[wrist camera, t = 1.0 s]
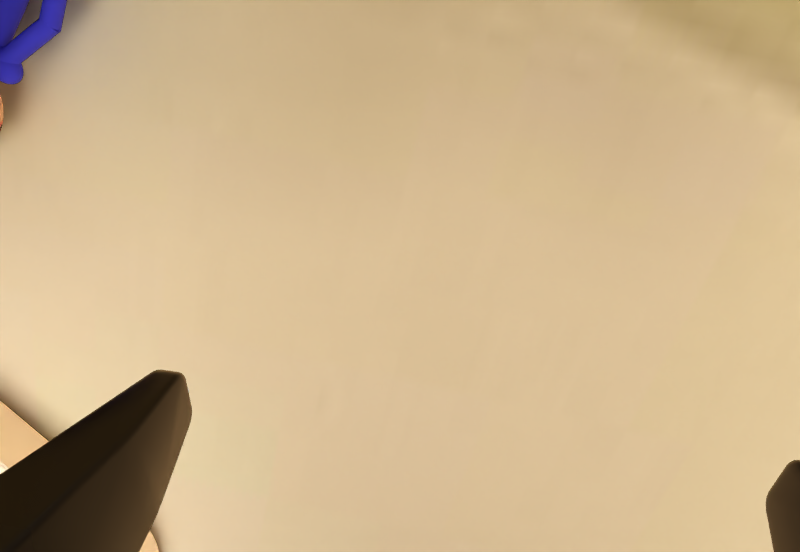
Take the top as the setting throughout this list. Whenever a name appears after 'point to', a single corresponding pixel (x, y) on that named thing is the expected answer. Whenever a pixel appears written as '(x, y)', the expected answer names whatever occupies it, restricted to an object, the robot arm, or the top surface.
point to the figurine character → (24, 36)
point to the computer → (31, 450)
